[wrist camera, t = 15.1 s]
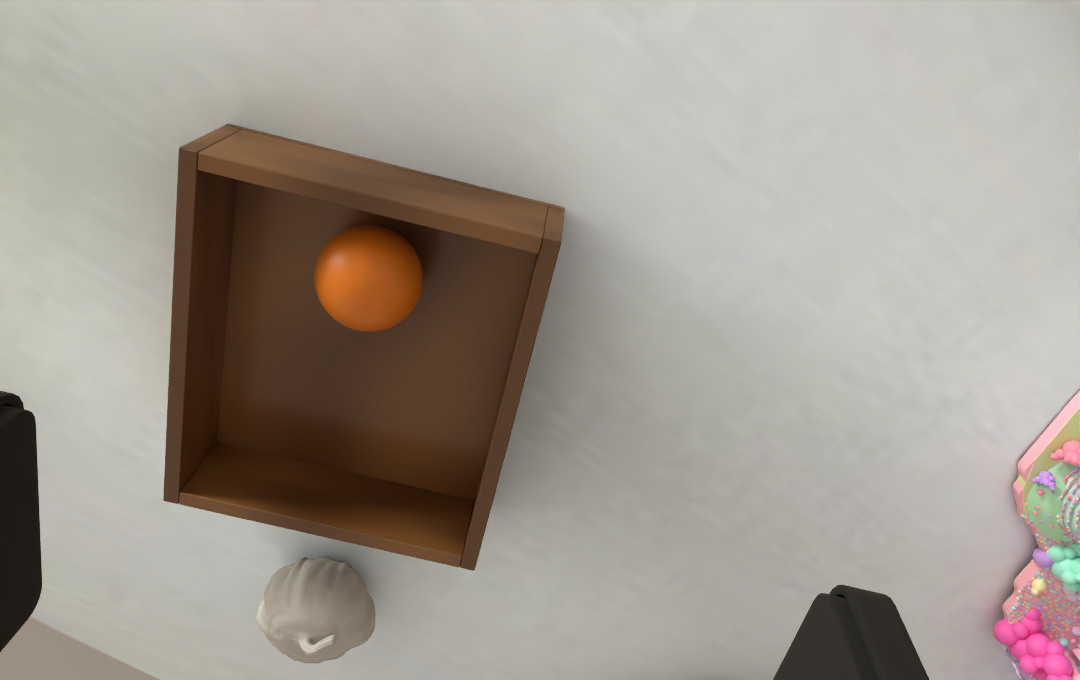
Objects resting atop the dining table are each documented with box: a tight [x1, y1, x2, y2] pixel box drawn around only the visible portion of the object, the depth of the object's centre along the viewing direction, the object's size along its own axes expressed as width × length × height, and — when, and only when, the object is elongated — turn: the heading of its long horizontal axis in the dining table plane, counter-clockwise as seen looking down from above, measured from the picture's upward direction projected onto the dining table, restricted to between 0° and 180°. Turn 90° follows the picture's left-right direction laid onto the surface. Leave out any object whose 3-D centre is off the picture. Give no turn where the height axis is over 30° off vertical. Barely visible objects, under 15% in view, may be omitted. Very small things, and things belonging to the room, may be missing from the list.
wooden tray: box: [164, 124, 565, 570], centre depth 36 cm, size 14×16×4 cm
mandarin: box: [314, 225, 423, 332], centre depth 34 cm, size 4×4×4 cm
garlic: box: [257, 557, 375, 663], centre depth 42 cm, size 6×5×5 cm
